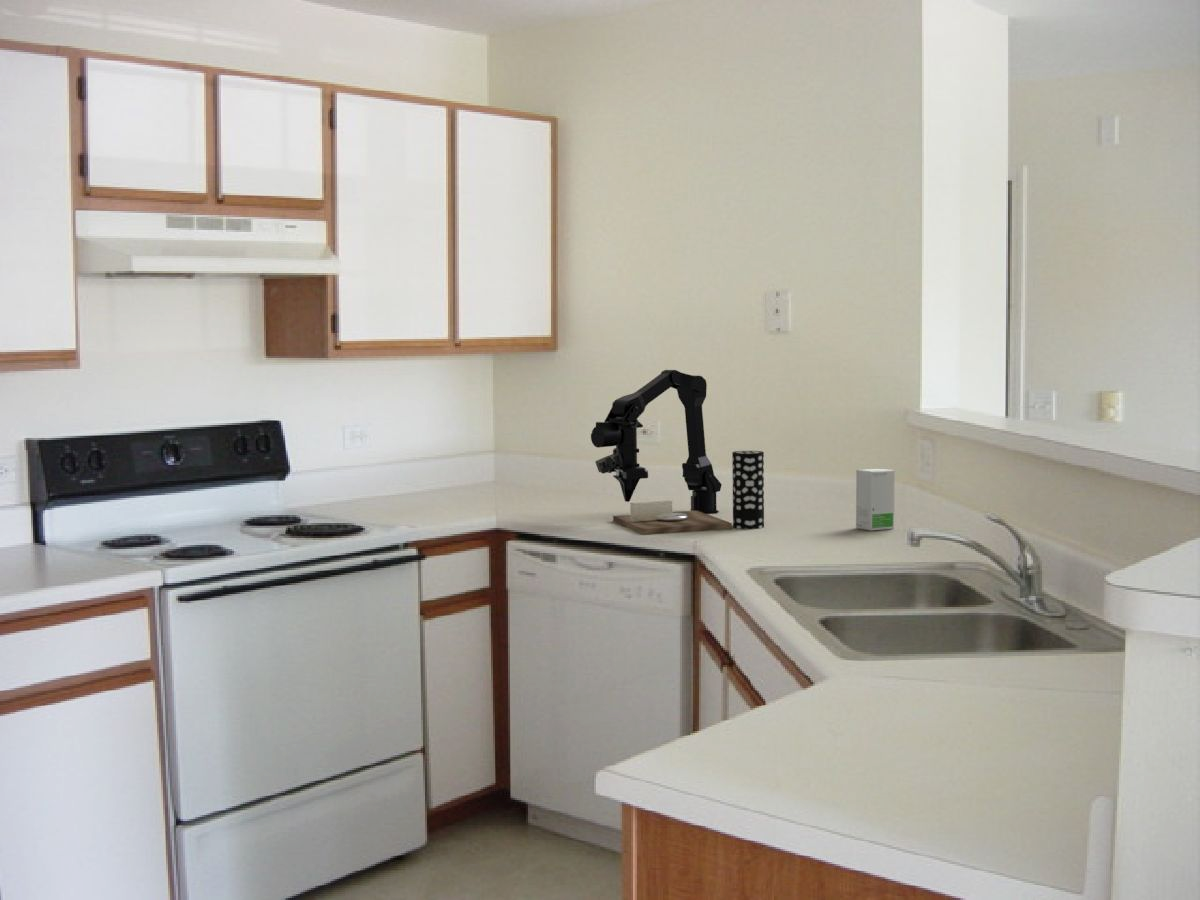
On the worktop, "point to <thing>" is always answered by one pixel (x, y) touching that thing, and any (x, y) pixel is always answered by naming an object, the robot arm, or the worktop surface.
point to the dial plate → (675, 523)
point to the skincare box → (875, 499)
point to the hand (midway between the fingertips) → (627, 501)
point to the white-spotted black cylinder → (748, 489)
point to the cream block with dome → (654, 511)
